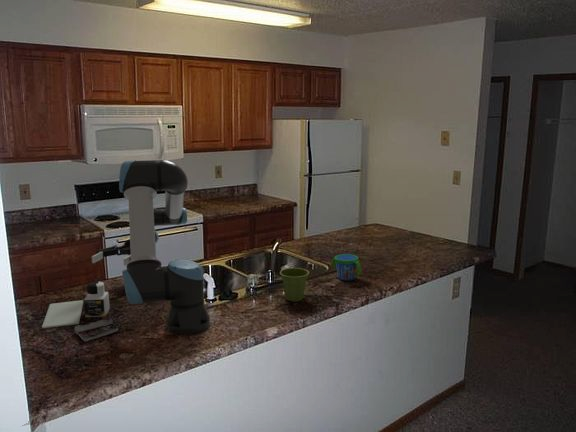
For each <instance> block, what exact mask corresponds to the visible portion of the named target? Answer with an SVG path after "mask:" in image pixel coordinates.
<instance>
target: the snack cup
mask: <svg viewBox="0 0 576 432" xmlns="http://www.w3.org/2000/svg"><path fill="white" fill-rule="evenodd" d="M331 267H332V269H335V268H336V272H337V273H336V276H337V278H338V279H339V280H340V281H344V282H347V281H353V280H355V277H356V276H360V275H361V274H362V273H363V272H362V265H361V262H360V261H359V256H357V255H355V254H351V253H342V254H341V253H340V254H338V255H335V256H334V257H333V258H332V262H331ZM356 272H357V273H356ZM356 274H357V275H356Z"/></svg>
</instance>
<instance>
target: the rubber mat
mask: <svg viewBox="0 0 576 432" xmlns="http://www.w3.org/2000/svg"><path fill="white" fill-rule="evenodd" d="M83 305H84V299H81V300H72V301H64V302H63V301H62V302H57V303H56V302H53V303H50V304H49V305H48V309H47V312H46V315H45V317H44V319H43V323H42V325H41V329H51V328H58V327H65V326H74V325H80V320H81V315H82V310H83V307H84V306H83Z"/></svg>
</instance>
